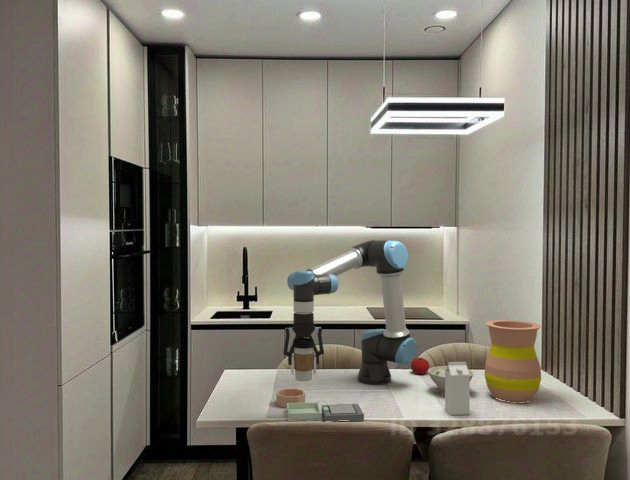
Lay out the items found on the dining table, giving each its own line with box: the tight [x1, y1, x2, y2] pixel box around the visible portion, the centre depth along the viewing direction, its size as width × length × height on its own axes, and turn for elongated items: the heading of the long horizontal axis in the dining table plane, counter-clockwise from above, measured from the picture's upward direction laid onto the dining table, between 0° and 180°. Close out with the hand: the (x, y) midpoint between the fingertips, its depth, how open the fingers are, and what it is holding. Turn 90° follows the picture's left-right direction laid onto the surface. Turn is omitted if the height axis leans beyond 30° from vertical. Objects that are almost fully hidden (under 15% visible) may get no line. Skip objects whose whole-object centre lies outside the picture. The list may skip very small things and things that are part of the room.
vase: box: [484, 319, 542, 403], centre depth 229 cm, size 22×22×30 cm
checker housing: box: [321, 403, 365, 422], centre depth 206 cm, size 14×12×3 cm
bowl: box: [427, 365, 474, 395], centre depth 235 cm, size 19×19×10 cm
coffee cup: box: [292, 337, 316, 382], centre depth 207 cm, size 8×8×15 cm
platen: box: [329, 404, 356, 415], centre depth 206 cm, size 9×9×1 cm
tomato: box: [410, 357, 430, 375], centre depth 266 cm, size 9×9×8 cm
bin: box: [276, 388, 306, 409], centre depth 221 cm, size 11×11×4 cm
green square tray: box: [286, 401, 323, 421], centre depth 208 cm, size 12×12×3 cm
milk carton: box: [444, 361, 471, 416], centre depth 211 cm, size 7×7×19 cm
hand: (303, 373), depth 208 cm, fingers closed on coffee cup, 8 cm apart
